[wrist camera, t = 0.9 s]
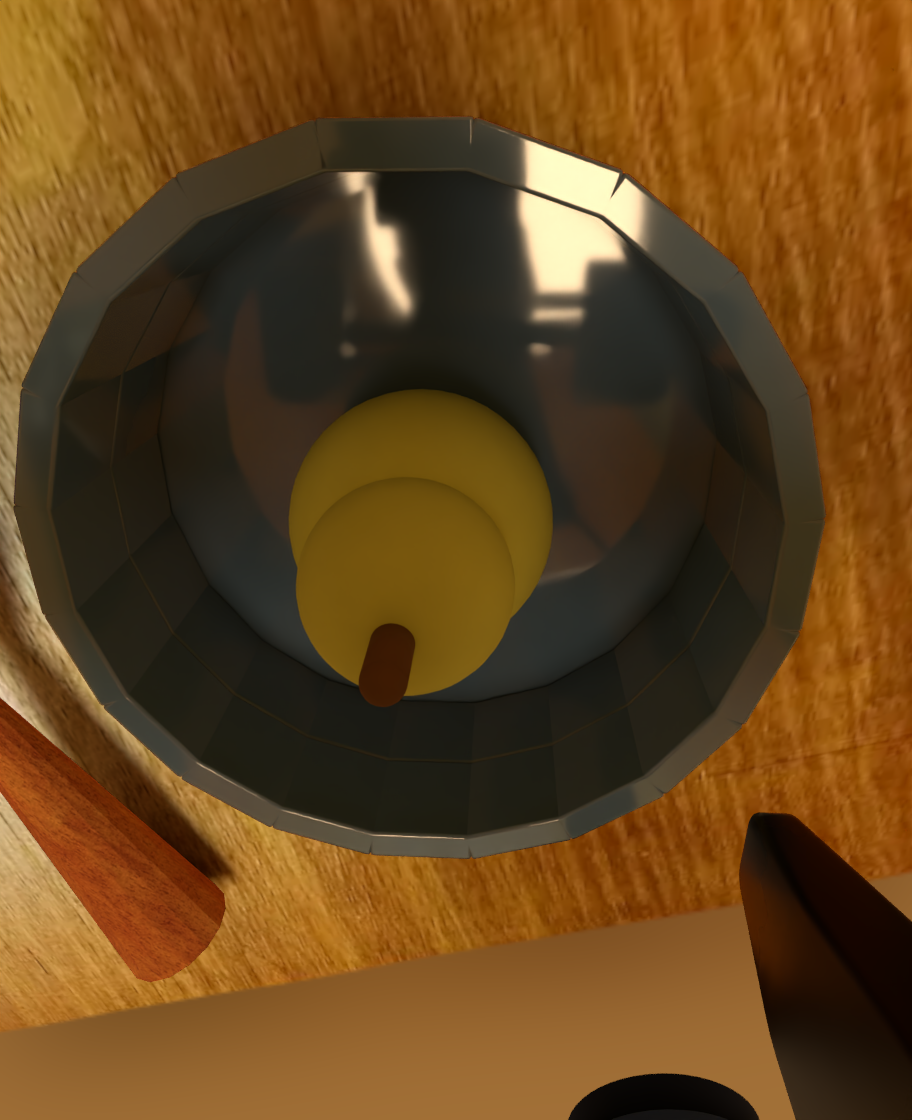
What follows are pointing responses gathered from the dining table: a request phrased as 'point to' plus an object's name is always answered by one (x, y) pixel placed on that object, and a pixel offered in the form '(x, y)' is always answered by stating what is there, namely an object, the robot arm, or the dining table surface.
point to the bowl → (406, 364)
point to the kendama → (108, 856)
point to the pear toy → (416, 540)
